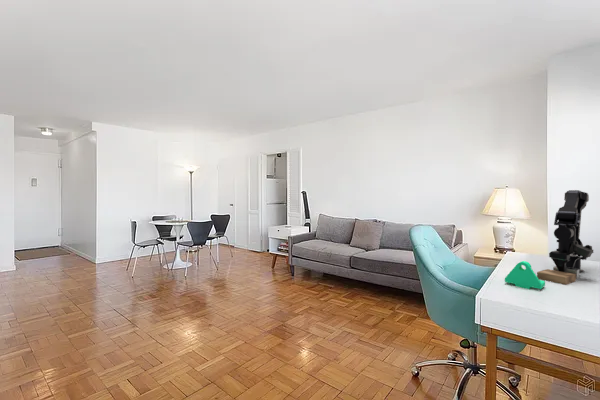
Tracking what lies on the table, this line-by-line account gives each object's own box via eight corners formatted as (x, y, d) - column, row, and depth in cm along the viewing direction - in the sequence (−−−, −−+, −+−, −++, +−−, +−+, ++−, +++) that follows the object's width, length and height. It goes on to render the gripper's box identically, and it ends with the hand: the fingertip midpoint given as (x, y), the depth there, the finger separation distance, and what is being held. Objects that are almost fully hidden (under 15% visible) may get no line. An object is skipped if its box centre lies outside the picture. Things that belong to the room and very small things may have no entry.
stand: (547, 275, 137) (547, 268, 137) (575, 281, 129) (575, 274, 128) (536, 278, 132) (537, 271, 132) (565, 284, 124) (565, 277, 124)
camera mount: (545, 287, 121) (546, 262, 121) (541, 291, 116) (541, 265, 116) (510, 280, 130) (510, 257, 130) (504, 284, 125) (505, 259, 125)
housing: (556, 274, 140) (556, 265, 140) (579, 278, 134) (579, 268, 134) (553, 276, 137) (553, 266, 137) (576, 280, 131) (576, 270, 131)
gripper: (581, 242, 123) (581, 280, 124) (599, 238, 133) (598, 274, 133) (548, 238, 133) (548, 273, 133) (567, 235, 142) (566, 268, 143)
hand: (566, 272), depth 135 cm, fingers open, 8 cm apart
